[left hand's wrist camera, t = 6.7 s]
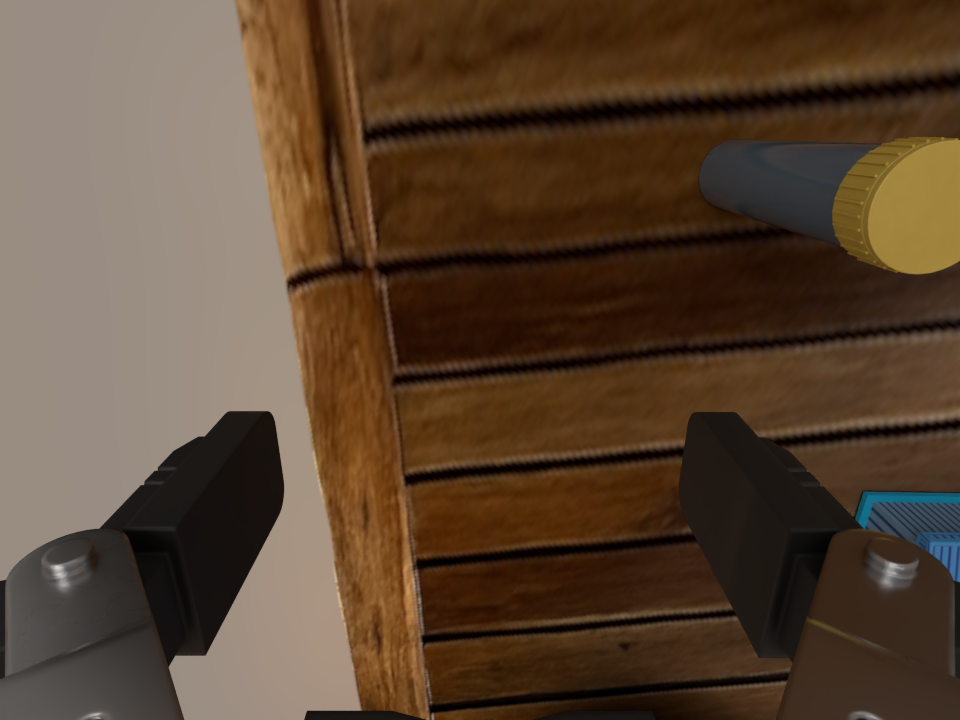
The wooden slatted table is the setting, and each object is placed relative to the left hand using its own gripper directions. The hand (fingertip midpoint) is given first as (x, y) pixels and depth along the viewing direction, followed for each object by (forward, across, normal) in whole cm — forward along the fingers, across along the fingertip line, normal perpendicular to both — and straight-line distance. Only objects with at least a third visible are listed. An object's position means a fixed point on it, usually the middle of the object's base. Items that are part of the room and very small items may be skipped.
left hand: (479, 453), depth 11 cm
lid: (+12, -16, -3) cm, 20 cm away
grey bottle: (+29, -16, -3) cm, 34 cm away
